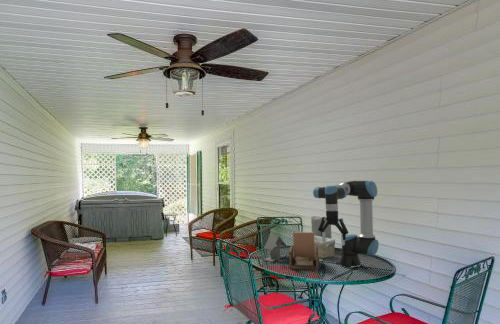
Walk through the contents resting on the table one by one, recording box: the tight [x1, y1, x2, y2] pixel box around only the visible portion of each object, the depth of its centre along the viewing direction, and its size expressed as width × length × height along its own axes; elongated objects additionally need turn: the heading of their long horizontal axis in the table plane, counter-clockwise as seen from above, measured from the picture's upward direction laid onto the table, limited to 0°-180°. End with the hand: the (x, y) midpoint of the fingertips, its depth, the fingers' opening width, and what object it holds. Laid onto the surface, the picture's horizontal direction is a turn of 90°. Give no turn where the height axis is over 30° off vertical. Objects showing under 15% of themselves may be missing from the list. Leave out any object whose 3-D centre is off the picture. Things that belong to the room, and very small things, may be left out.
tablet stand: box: [263, 234, 287, 263], centre depth 275 cm, size 18×10×20 cm, turn 137°
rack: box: [288, 245, 320, 270], centre depth 251 cm, size 18×21×14 cm
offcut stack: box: [294, 257, 314, 266], centre depth 246 cm, size 6×14×7 cm, turn 78°
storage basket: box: [314, 236, 336, 259], centre depth 280 cm, size 24×16×15 cm
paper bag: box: [310, 215, 333, 239], centre depth 304 cm, size 19×15×28 cm
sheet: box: [292, 231, 316, 260], centre depth 256 cm, size 2×16×24 cm, turn 78°
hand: (333, 243), depth 208 cm, fingers open, 13 cm apart
